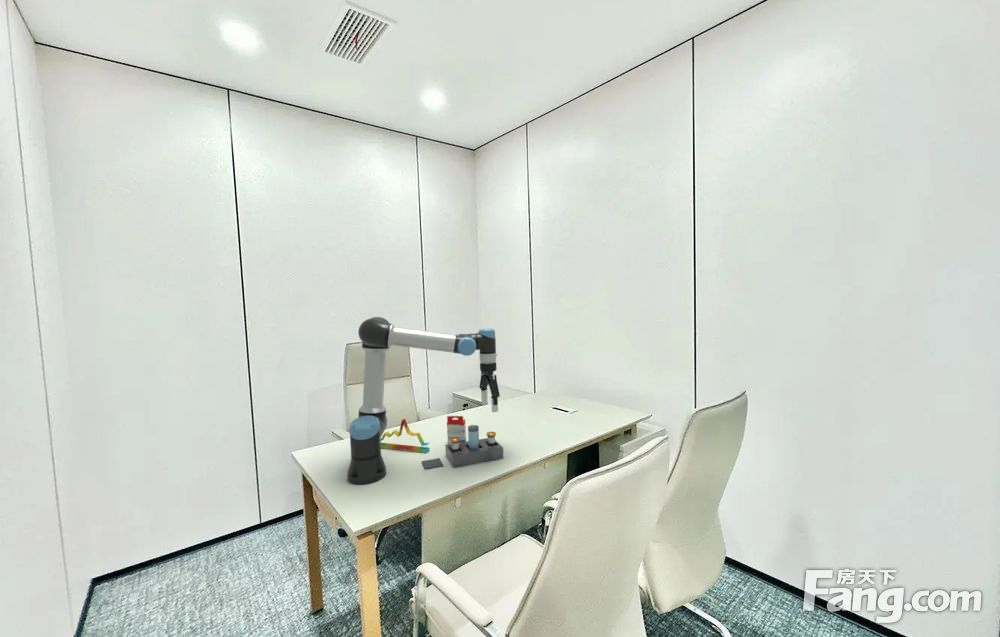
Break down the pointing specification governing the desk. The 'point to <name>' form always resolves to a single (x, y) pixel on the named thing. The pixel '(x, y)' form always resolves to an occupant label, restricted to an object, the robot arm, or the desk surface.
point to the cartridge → (473, 437)
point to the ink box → (456, 428)
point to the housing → (474, 453)
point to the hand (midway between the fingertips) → (489, 408)
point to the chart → (405, 447)
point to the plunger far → (491, 438)
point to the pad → (432, 463)
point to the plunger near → (455, 444)
